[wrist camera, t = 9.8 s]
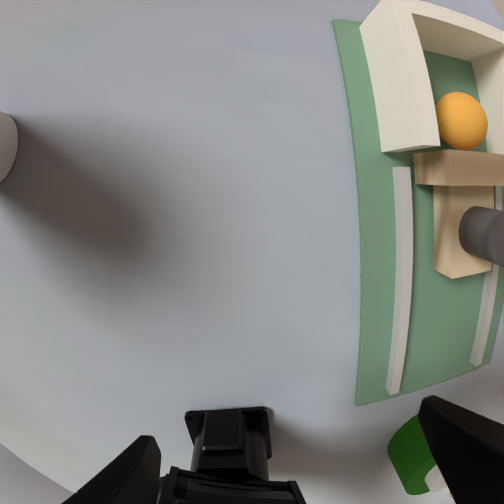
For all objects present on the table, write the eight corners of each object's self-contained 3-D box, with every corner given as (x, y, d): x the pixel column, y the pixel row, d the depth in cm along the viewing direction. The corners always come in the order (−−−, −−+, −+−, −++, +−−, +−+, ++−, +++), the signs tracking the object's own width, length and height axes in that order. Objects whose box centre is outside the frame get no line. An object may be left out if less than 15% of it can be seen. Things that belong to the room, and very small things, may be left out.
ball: (482, 85, 14) (456, 114, 18) (440, 76, 14) (416, 109, 18) (506, 136, 13) (475, 160, 17) (466, 130, 13) (435, 158, 17)
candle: (459, 393, 23) (511, 452, 13) (448, 441, 25) (485, 496, 15) (388, 425, 23) (429, 502, 14) (385, 469, 25) (414, 535, 15)
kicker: (483, 259, 19) (559, 292, 11) (416, 272, 19) (495, 318, 11) (483, 157, 18) (566, 156, 9) (412, 153, 17) (502, 144, 9)
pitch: (487, 361, 22) (517, 387, 17) (354, 403, 22) (375, 447, 17) (485, 53, 16) (524, 37, 11) (331, 21, 16) (356, -19, 11)
